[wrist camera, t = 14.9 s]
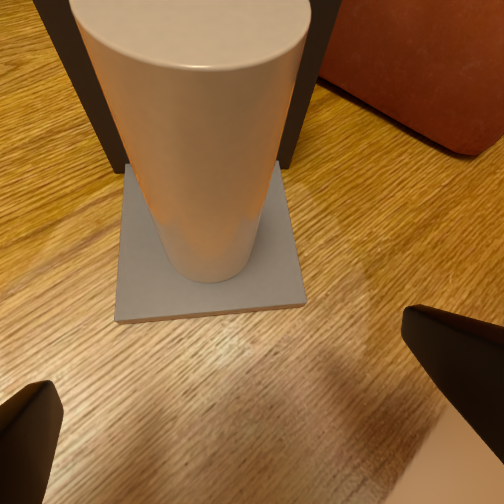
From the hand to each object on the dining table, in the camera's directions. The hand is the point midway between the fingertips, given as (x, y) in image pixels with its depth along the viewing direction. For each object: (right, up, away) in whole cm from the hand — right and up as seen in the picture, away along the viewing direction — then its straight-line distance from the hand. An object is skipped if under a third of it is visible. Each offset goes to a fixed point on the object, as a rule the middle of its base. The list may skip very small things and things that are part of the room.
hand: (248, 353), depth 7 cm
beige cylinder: (-3, +3, +11) cm, 12 cm away
